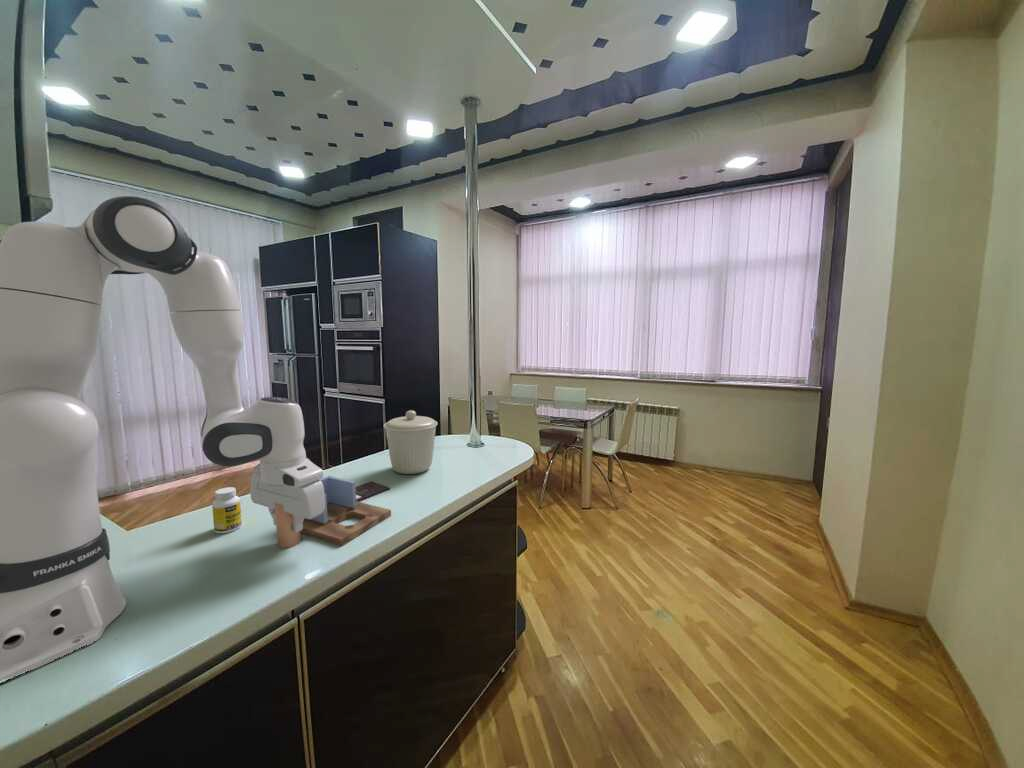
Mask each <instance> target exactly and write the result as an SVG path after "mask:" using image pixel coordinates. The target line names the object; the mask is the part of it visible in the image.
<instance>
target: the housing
mask: <svg viewBox="0 0 1024 768" xmlns="http://www.w3.org/2000/svg"><path fill="white" fill-rule="evenodd" d="M319 480H320V481H321V482H322V484H323V487H324V496H325V509H324V511H323V513H322V514H320V515H318V516H316V517H314V518H312V519H310V520H313V521H317V522H320V523H324V524H325V523H327V522H328V517H327V503H329V502H331V503H335V504H339V505H342V506H346V507H350V508H355V507H356V487H357V486H356V481H355V480H351V479H350V480H349V479H347V478H346V479H345V478H341V477H336V476H334V475H333V476H332V475H328V476H324V477H322V478H321V479H319Z"/></svg>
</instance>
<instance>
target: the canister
mask: <svg viewBox="0 0 1024 768" xmlns="http://www.w3.org/2000/svg"><path fill="white" fill-rule="evenodd" d="M437 426H438V421H436V420H435V419H433V418H432V417H429V416H424V415H423V416H422V415H417V412H416V411H415V410H413V409H412V410H411V409H409V410H407V411H406V412H405V416H399V417H394V418H392V419H390V420H389V421H387V422H385V423H384V424H383V428H384V429H385V433H386V440H387V447H388V452H389V458H390V463H391V468H392V469H393V470H394V471H395V472H396V473H398V474H402V475H414V474H415V475H416V474H420V473H424V472H426V471H428V470H429V469H430V467H431V466H432V462H433V456H434V449H435V448H434V447H435V440H436V429H437Z"/></svg>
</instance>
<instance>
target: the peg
mask: <svg viewBox="0 0 1024 768" xmlns="http://www.w3.org/2000/svg"><path fill="white" fill-rule="evenodd" d="M274 505H275V519H276V525H275V529H276V530H275V531H276V532H275V533H276V543H277V547H278V548H279V549H287V548H292V547H295V546H296V545H299V544H300V542H302V541H301V540H302V539H301V533H300V531H299V532H294V531H292V530H291V524H292V523H294V521H295V518H293V514H289V513H286V512H284V510H283V505H280V504H276V503H274Z"/></svg>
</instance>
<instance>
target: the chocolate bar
mask: <svg viewBox="0 0 1024 768" xmlns="http://www.w3.org/2000/svg"><path fill="white" fill-rule="evenodd" d="M355 487H356V501H358V502H362V501H365V500H367V499H370V498H372V497H375V496H377V495H381V494H382V493H385V492H387V491H389V490H391V488H390V487H389V486H385V485H383V484H382V483H381V484H380V483H378V482H375V481H368V482H366V483H364V484H360V485H358V486H355Z"/></svg>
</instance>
